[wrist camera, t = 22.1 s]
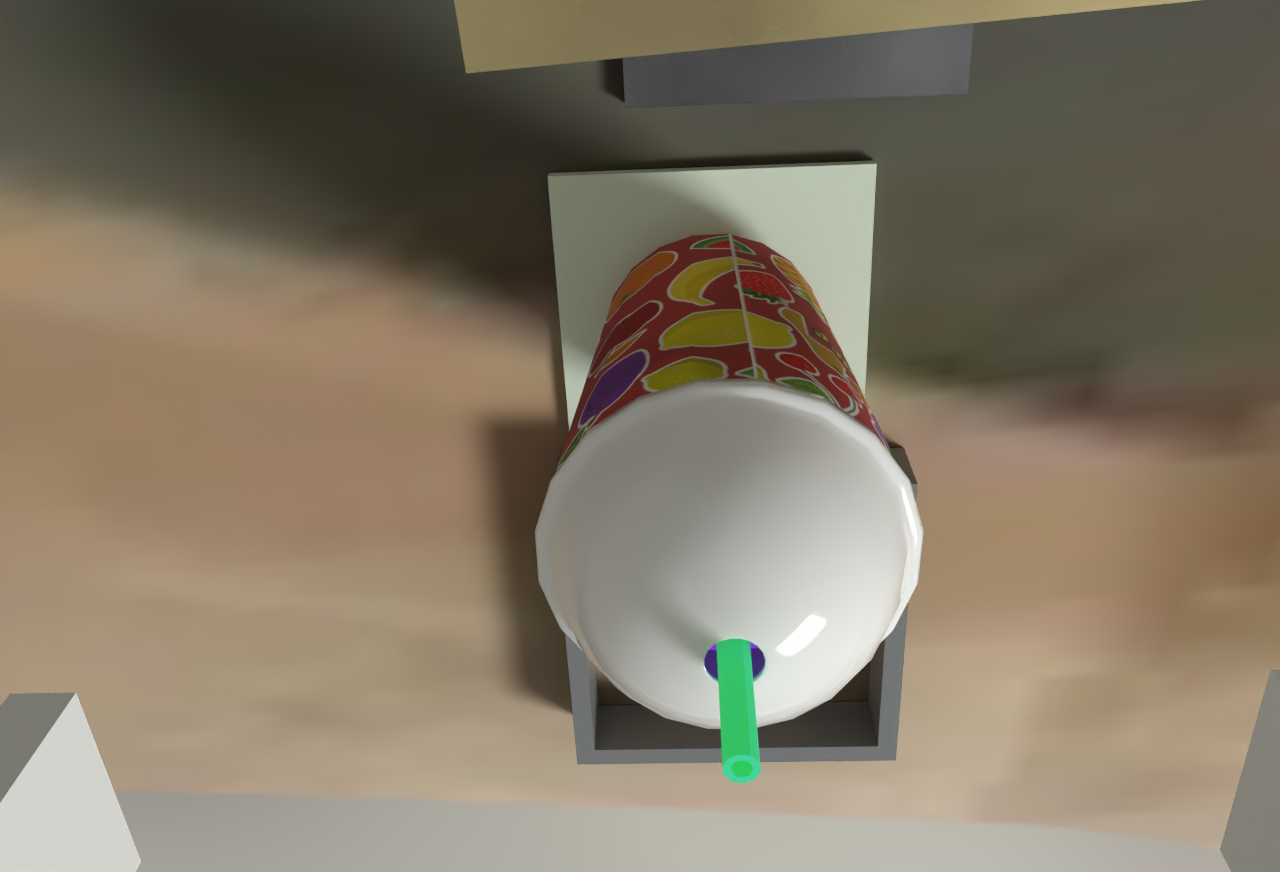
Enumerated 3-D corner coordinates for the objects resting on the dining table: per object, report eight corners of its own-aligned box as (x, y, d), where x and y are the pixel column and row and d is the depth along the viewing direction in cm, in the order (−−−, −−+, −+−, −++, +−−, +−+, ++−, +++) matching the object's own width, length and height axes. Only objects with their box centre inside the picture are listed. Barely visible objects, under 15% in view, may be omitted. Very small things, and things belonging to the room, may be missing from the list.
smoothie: (835, 433, 38) (969, 939, 21) (591, 437, 39) (516, 937, 21) (847, 191, 34) (1024, 557, 17) (575, 198, 35) (467, 564, 17)
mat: (548, 173, 35) (547, 176, 35) (874, 160, 34) (876, 164, 34) (572, 456, 39) (571, 461, 39) (860, 448, 39) (861, 454, 39)
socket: (558, 456, 40) (551, 492, 37) (903, 447, 39) (917, 483, 37) (582, 719, 45) (577, 764, 43) (885, 714, 44) (895, 760, 42)
